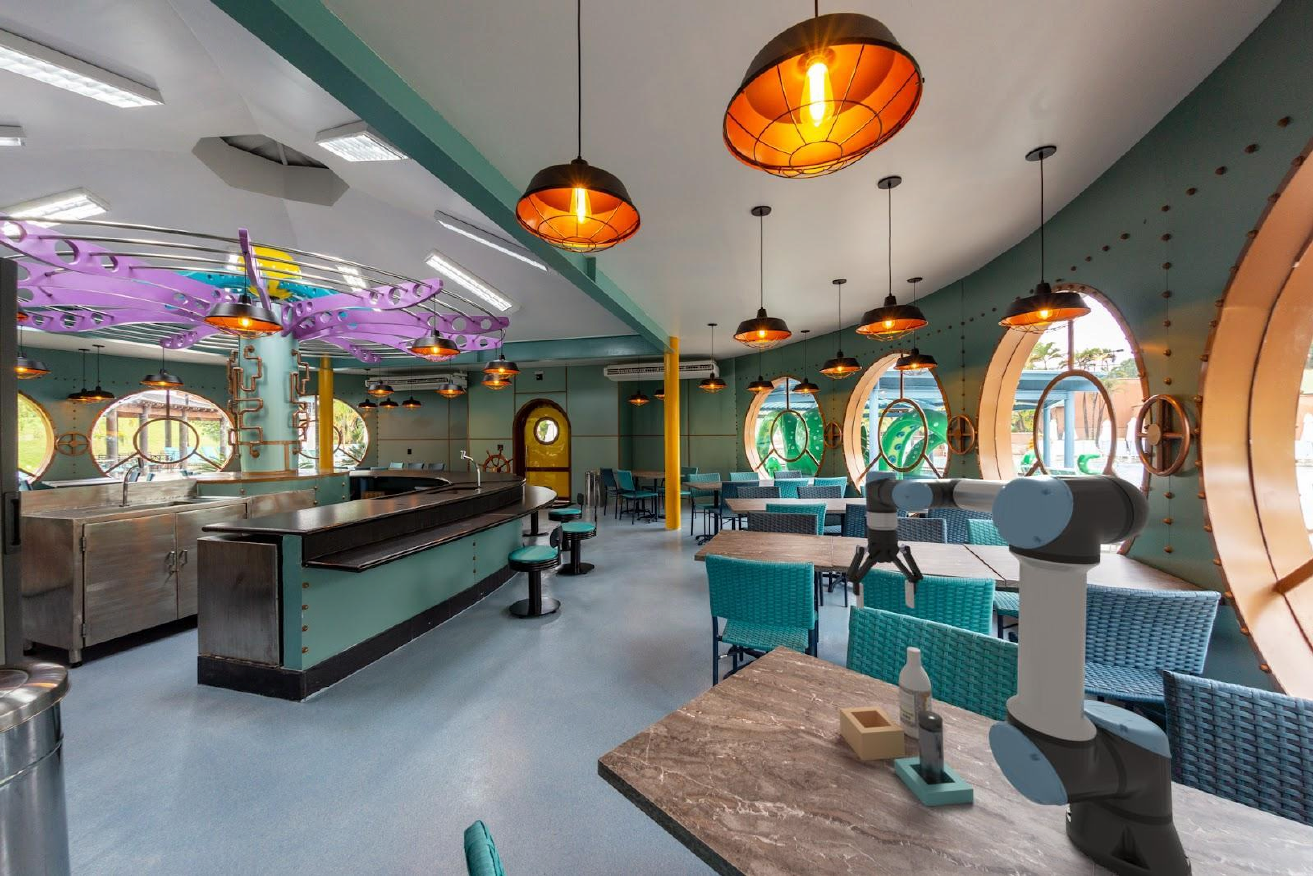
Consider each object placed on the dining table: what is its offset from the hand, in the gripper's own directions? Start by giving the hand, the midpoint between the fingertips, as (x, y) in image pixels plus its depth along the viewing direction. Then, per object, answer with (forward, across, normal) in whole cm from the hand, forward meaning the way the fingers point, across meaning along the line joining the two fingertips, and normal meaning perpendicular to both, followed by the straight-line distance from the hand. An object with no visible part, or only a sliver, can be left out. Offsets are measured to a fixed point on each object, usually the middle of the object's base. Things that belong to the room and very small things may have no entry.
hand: (885, 607), depth 125 cm
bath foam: (+27, -2, +10) cm, 29 cm away
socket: (+27, +12, +14) cm, 33 cm away
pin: (+27, +6, +28) cm, 40 cm away
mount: (+27, +6, +28) cm, 40 cm away
